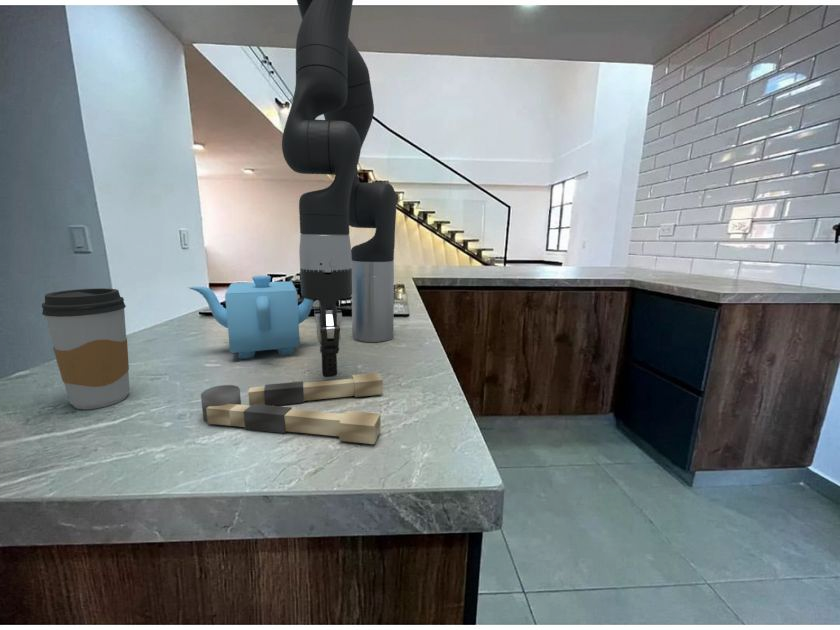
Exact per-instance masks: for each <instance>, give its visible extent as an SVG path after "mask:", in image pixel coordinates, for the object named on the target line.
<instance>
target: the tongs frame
mask: <svg viewBox="0 0 840 630" xmlns="http://www.w3.org/2000/svg"><path fill="white" fill-rule="evenodd" d="M200 400H201V401H200V402H201V409H202V417H203V421H204V422H205V423H207V424H209V425H219V426H231V427H238V428H239V427H241V428H242V427H243V428H244V430H251V431H259V432H270V433H282V434H285V433H286V432H292V433H301V434H310V435H311V434H312V435H322V436H334V437H339V442H348V443H359V444H370V445H374V444H375V443H376V441H377V438H378V436H379V435H380V433H381V413H377V412H376V413H375V412H367V411H366V412H364V411H353V410H347V411H346V413H336V412H335V413H333V412H325V411H324V412H323V411H315V410H303V409H292V407H289V406H280V405H273V406H270V405H259V404H253V405H251V406H249V404H242V403H241V402H242V400H241V389H240V387H239V386H237V385H232V384H224V385H217V386H212V387H209V388H207V389H205V390H204V391H202V392H201V393H200Z"/></svg>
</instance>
